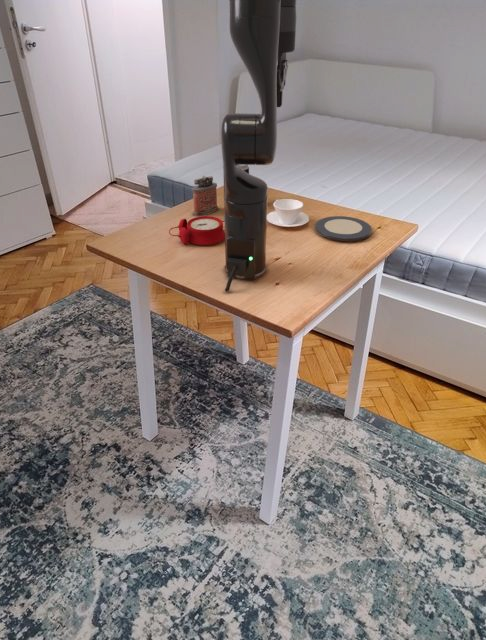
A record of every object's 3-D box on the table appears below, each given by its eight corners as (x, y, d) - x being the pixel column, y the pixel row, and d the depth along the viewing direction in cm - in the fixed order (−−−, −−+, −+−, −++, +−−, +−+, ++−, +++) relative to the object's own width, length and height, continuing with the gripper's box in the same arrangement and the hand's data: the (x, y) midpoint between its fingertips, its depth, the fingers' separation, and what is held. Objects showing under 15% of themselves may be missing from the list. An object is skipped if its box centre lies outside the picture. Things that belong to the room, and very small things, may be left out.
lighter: (212, 206, 144) (211, 172, 138) (220, 209, 142) (219, 175, 136) (191, 213, 139) (188, 178, 133) (198, 216, 137) (196, 181, 131)
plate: (369, 246, 123) (370, 241, 122) (311, 239, 126) (311, 234, 125) (372, 223, 134) (373, 218, 134) (318, 218, 137) (319, 213, 136)
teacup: (286, 211, 141) (287, 193, 138) (317, 223, 134) (319, 204, 131) (257, 221, 135) (257, 203, 132) (288, 235, 128) (289, 215, 125)
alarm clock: (231, 231, 121) (171, 221, 117) (226, 254, 124) (168, 245, 120) (227, 215, 129) (171, 205, 125) (222, 237, 132) (168, 228, 129)
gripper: (271, 26, 124) (268, 101, 134) (259, 30, 114) (258, 110, 124) (299, 27, 122) (295, 102, 133) (290, 31, 112) (286, 112, 123)
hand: (277, 106), depth 129 cm, fingers closed
